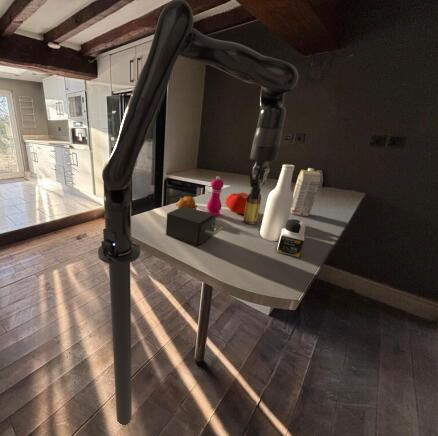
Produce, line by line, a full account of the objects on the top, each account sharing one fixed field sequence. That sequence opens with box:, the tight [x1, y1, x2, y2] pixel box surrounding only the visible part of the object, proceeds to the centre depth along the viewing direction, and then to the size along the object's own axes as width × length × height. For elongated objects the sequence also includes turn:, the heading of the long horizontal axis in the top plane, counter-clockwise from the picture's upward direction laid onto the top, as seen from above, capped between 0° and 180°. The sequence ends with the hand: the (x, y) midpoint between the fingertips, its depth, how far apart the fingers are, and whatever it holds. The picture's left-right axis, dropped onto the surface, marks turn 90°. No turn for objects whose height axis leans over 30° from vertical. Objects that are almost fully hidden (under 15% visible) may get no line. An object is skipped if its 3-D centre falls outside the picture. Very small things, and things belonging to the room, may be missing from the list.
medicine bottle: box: [276, 218, 307, 258], centre depth 85 cm, size 7×7×12 cm
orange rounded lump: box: [176, 195, 199, 210], centre depth 120 cm, size 10×11×10 cm
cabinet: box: [165, 206, 215, 247], centre depth 96 cm, size 15×13×10 cm
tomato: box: [225, 192, 250, 215], centre depth 123 cm, size 14×16×10 cm
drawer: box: [198, 216, 223, 245], centre depth 94 cm, size 18×11×8 cm, turn 50°
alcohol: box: [259, 163, 296, 242], centre depth 92 cm, size 9×9×30 cm
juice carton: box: [290, 167, 322, 217], centre depth 120 cm, size 9×8×24 cm
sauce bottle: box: [243, 186, 262, 225], centre depth 108 cm, size 7×6×20 cm
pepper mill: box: [206, 175, 224, 217], centre depth 117 cm, size 7×7×20 cm
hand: (254, 198), depth 76 cm, fingers closed
